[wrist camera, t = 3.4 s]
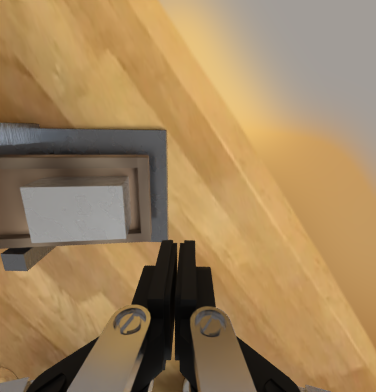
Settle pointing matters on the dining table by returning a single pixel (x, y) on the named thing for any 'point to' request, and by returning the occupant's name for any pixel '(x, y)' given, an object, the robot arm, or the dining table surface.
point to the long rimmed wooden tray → (70, 167)
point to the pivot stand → (89, 145)
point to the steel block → (77, 208)
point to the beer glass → (6, 375)
